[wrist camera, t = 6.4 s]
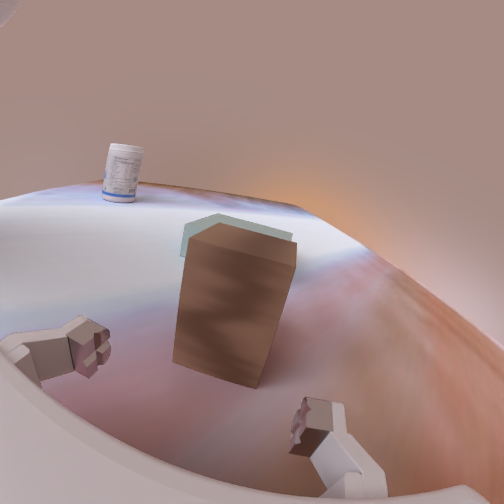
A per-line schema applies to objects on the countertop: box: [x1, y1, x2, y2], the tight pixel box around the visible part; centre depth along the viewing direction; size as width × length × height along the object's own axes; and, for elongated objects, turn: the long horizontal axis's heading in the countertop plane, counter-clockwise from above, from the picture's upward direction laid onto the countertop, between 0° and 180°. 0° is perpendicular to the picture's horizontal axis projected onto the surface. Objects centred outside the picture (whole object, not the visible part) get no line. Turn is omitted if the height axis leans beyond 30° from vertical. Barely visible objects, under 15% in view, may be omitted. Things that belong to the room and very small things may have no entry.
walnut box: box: [173, 222, 297, 389], centre depth 19 cm, size 6×6×9 cm
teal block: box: [180, 214, 293, 258], centre depth 43 cm, size 14×14×5 cm
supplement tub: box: [102, 143, 144, 203], centre depth 63 cm, size 10×10×15 cm
